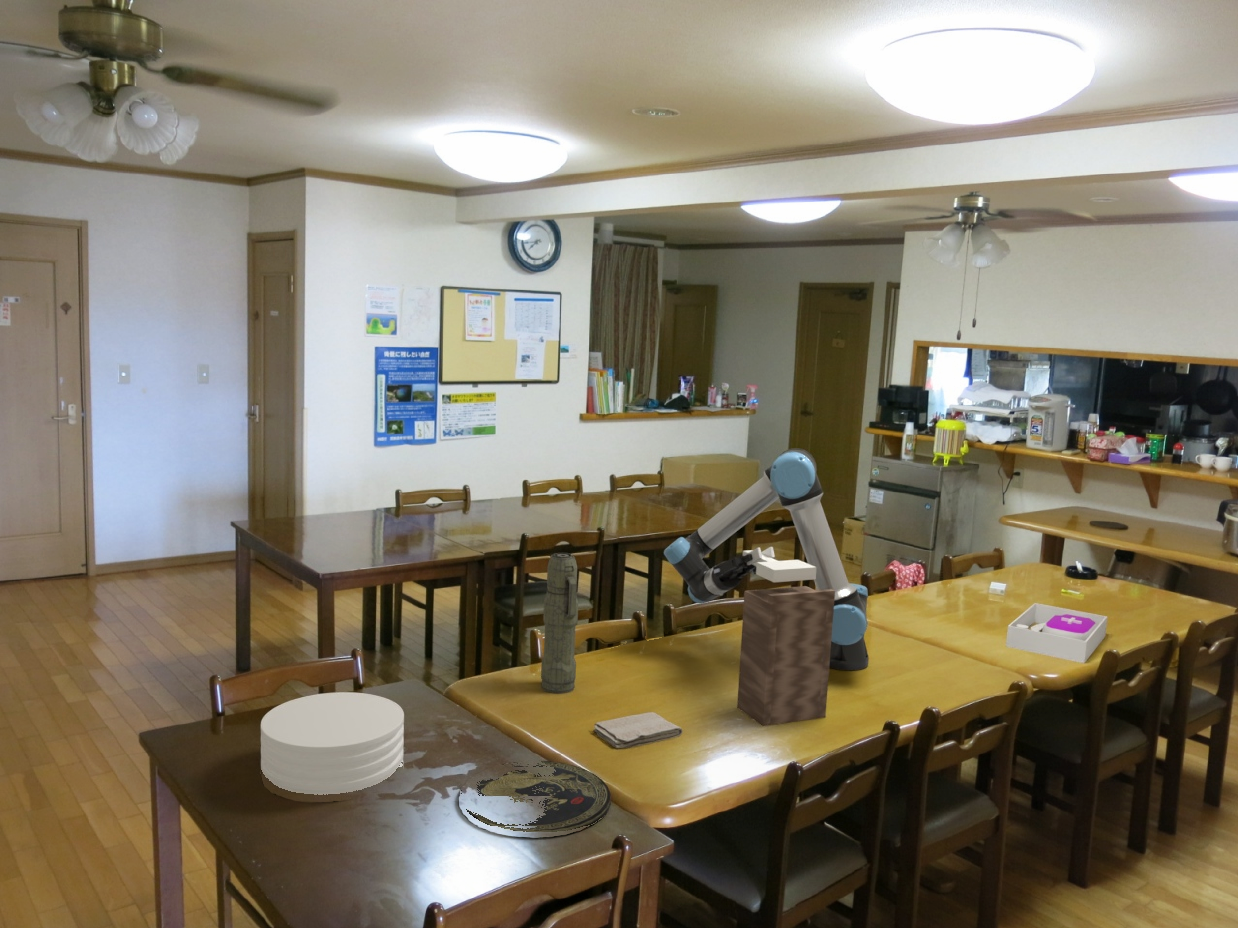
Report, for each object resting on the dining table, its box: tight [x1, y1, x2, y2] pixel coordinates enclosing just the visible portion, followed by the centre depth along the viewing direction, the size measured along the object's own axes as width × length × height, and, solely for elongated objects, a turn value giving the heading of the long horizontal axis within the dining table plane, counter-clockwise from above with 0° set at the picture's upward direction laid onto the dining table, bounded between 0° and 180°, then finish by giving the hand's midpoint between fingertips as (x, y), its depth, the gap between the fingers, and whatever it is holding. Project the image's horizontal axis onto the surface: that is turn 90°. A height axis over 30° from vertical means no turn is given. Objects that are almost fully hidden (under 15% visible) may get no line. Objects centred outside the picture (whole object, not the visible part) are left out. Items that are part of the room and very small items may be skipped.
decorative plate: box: [460, 760, 612, 832], centre depth 192 cm, size 30×2×30 cm
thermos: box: [540, 552, 579, 695], centre depth 249 cm, size 9×12×35 cm
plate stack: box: [260, 691, 405, 795], centre depth 200 cm, size 28×28×12 cm
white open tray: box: [1005, 602, 1109, 664], centre depth 310 cm, size 22×35×7 cm, turn 144°
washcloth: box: [593, 711, 684, 749], centre depth 225 cm, size 12×18×3 cm, turn 123°
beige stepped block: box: [742, 549, 817, 583], centre depth 244 cm, size 12×22×3 cm, turn 24°
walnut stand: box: [736, 585, 835, 727], centre depth 239 cm, size 18×12×32 cm, turn 114°
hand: (766, 552), depth 246 cm, fingers closed on beige stepped block, 3 cm apart
